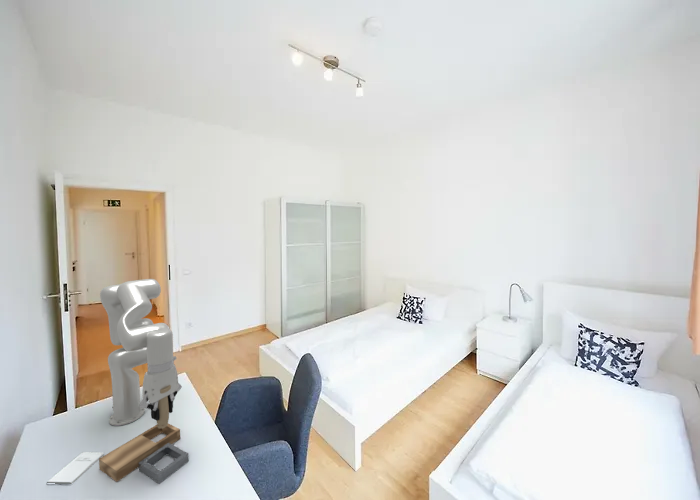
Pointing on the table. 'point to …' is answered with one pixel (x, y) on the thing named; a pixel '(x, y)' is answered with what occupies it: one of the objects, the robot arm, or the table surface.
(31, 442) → the table surface
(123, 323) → the robot arm
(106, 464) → the wooden box
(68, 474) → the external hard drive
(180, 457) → the collar
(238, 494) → the table surface
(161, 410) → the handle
